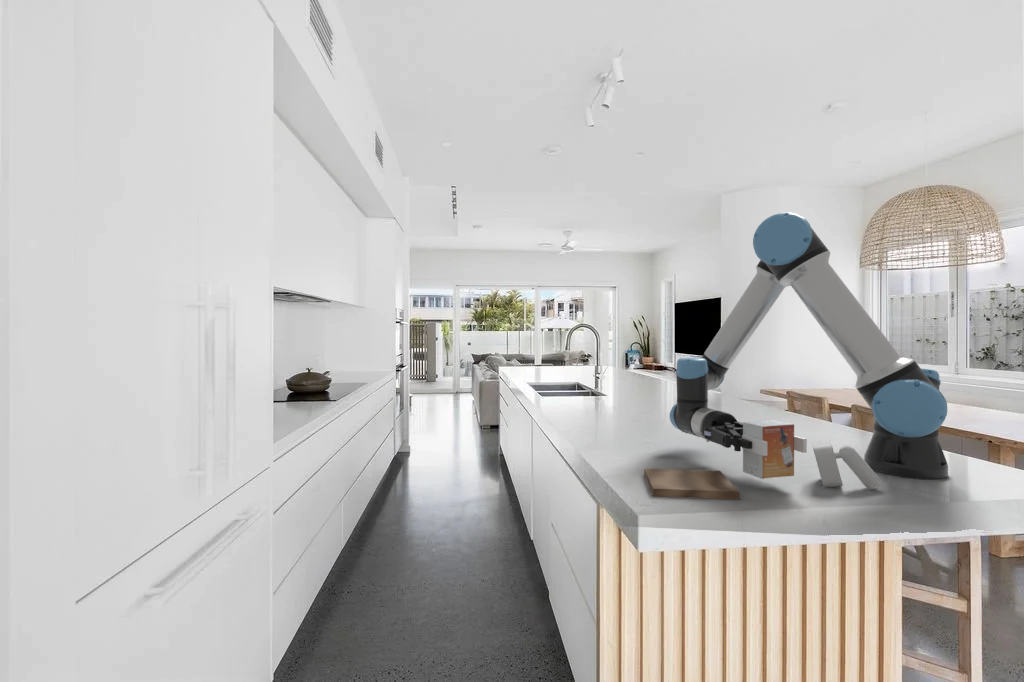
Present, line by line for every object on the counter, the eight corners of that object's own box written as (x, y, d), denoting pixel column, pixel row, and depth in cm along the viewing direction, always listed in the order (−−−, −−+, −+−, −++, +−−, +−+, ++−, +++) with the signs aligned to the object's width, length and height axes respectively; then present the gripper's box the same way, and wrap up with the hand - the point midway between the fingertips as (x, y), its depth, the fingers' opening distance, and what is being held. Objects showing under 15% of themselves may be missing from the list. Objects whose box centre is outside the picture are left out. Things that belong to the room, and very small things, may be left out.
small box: (762, 479, 100) (761, 426, 100) (742, 472, 106) (741, 421, 105) (795, 476, 102) (795, 423, 102) (774, 468, 108) (774, 419, 107)
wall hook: (887, 493, 98) (873, 442, 99) (826, 498, 103) (813, 449, 104) (880, 482, 105) (867, 434, 106) (823, 487, 110) (811, 441, 111)
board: (719, 477, 111) (719, 470, 111) (739, 499, 97) (739, 491, 97) (644, 475, 113) (644, 468, 113) (653, 496, 99) (653, 488, 99)
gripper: (753, 439, 124) (831, 462, 101) (675, 444, 119) (738, 470, 97) (753, 408, 124) (830, 424, 101) (674, 412, 119) (737, 431, 97)
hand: (785, 447), depth 99 cm, fingers closed on small box, 8 cm apart
